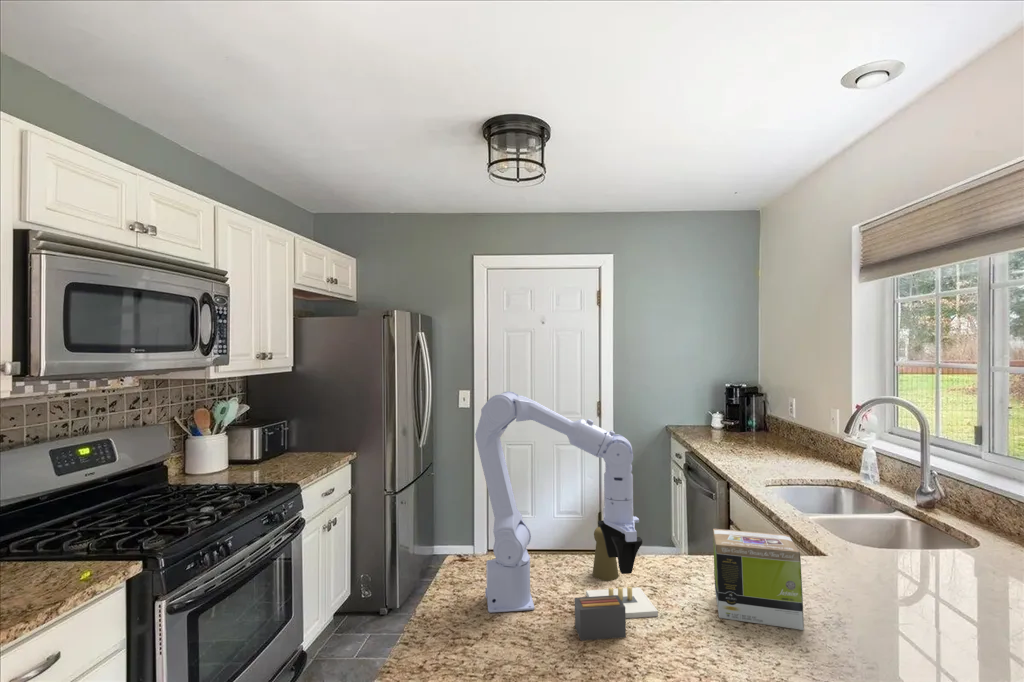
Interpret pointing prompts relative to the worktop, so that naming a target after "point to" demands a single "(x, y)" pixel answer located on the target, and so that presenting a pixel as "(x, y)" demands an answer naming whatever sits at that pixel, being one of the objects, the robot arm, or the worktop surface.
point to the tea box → (758, 578)
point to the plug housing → (600, 617)
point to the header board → (629, 601)
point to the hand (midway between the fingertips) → (619, 564)
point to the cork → (603, 560)
